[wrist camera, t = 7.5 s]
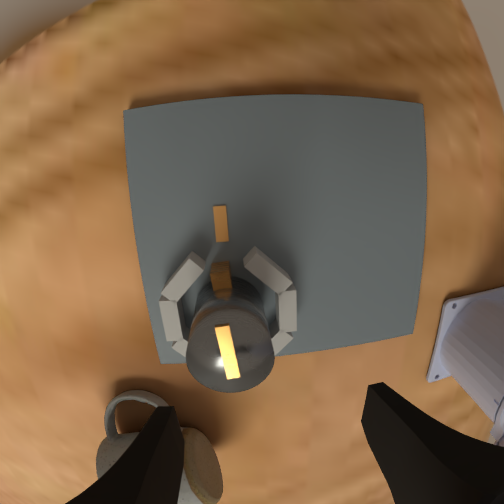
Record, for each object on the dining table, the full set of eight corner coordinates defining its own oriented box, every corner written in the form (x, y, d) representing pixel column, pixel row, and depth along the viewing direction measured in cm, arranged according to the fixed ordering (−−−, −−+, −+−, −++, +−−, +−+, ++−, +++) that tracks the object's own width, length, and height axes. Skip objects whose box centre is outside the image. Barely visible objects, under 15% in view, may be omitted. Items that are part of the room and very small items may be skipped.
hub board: (416, 105, 17) (436, 101, 15) (407, 328, 22) (422, 343, 19) (127, 112, 16) (114, 106, 14) (162, 357, 21) (157, 377, 18)
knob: (266, 330, 20) (279, 388, 14) (203, 339, 20) (197, 400, 14) (254, 256, 18) (266, 297, 13) (186, 267, 18) (169, 312, 13)
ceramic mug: (227, 457, 24) (229, 526, 17) (150, 468, 24) (138, 530, 17) (173, 373, 21) (156, 452, 14) (88, 392, 21) (54, 458, 14)
